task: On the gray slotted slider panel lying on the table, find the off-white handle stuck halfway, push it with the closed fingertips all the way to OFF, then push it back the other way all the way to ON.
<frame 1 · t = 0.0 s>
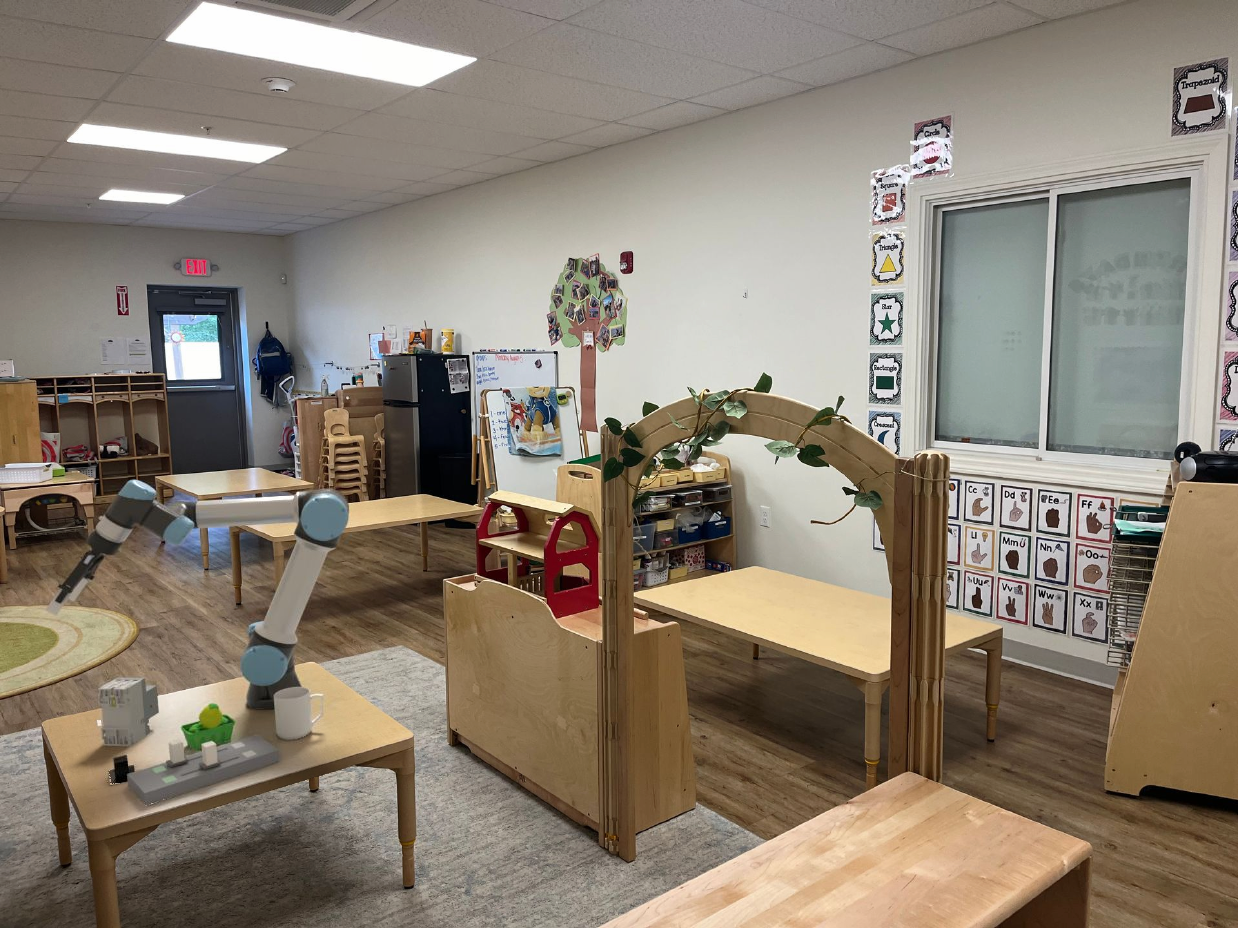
hand: (60, 605, 227), 36 cm above the table, tool tilted 35°, fingers open, 13 cm apart
fruit basket: (210, 744, 228), on the table
mug: (301, 733, 233), on the table
gray slotted slider panel: (206, 773, 211), on the table
black stepped block: (122, 777, 212), on the table
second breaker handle: (176, 751, 209), point 6 cm above the table, slide at 10.0 cm
circuit breaker: (134, 734, 235), on the table
tripped breaker handle: (209, 754, 208), point 6 cm above the table, slide at 5.0 cm
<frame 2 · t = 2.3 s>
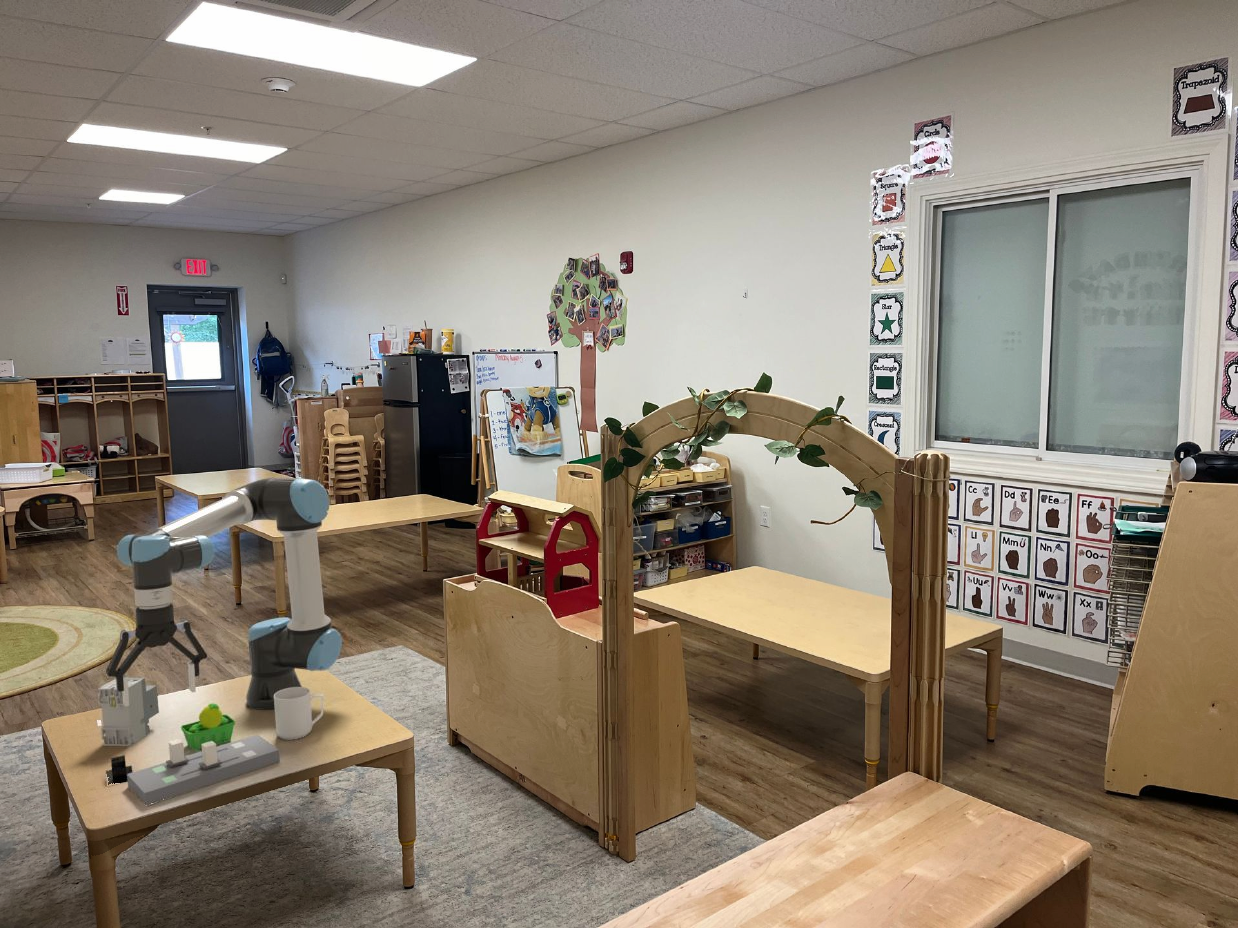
hand: (160, 697, 202), 22 cm above the table, tool pointing down, fingers open, 13 cm apart
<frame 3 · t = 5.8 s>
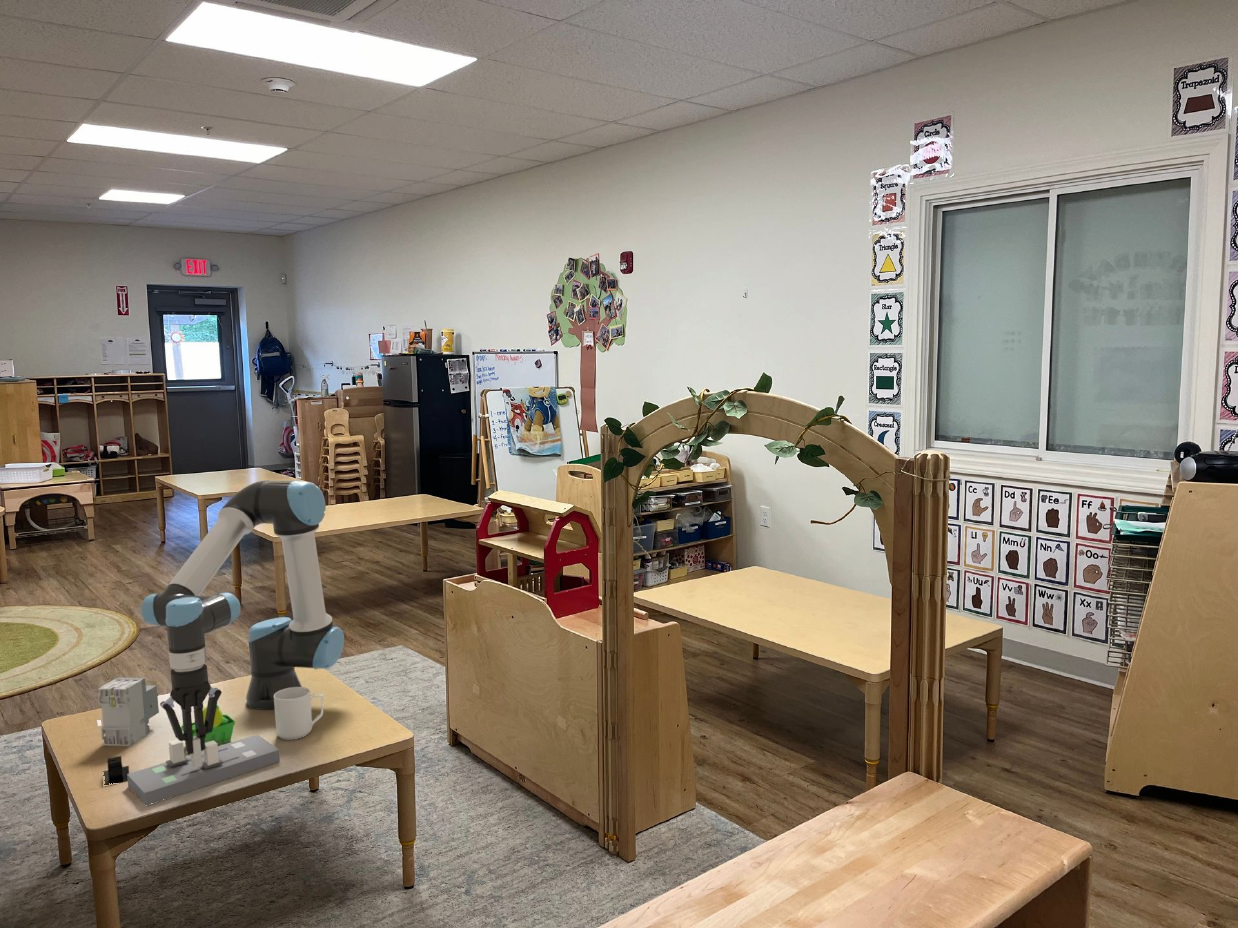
hand: (196, 764, 206), 4 cm above the table, tool pointing down, fingers closed
tripped breaker handle: (210, 753, 208), point 6 cm above the table, slide at 4.7 cm, touching gripper
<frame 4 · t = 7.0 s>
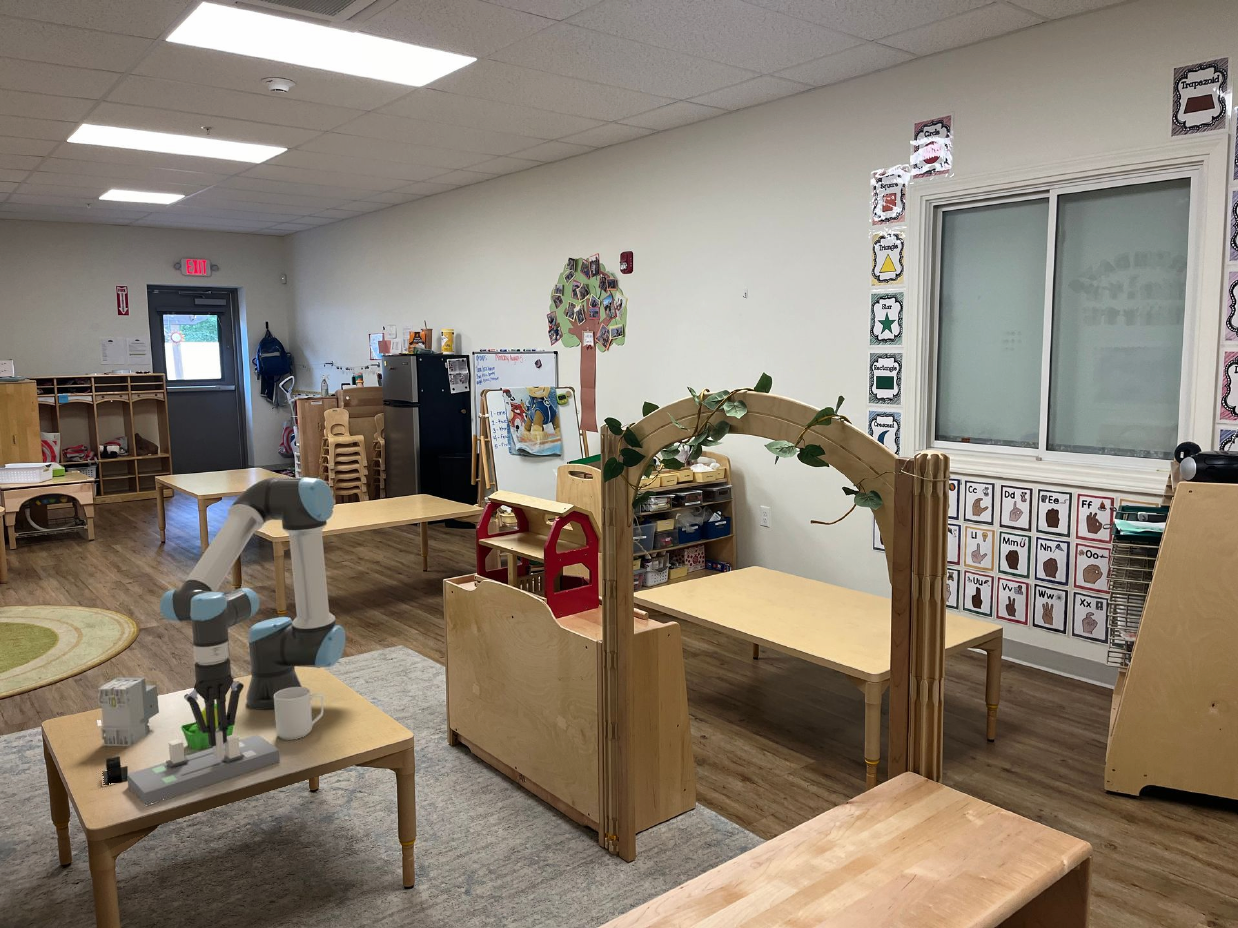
hand: (218, 757, 210), 4 cm above the table, tool pointing down, fingers closed
tripped breaker handle: (232, 747, 211), point 6 cm above the table, slide at -0.2 cm, touching gripper
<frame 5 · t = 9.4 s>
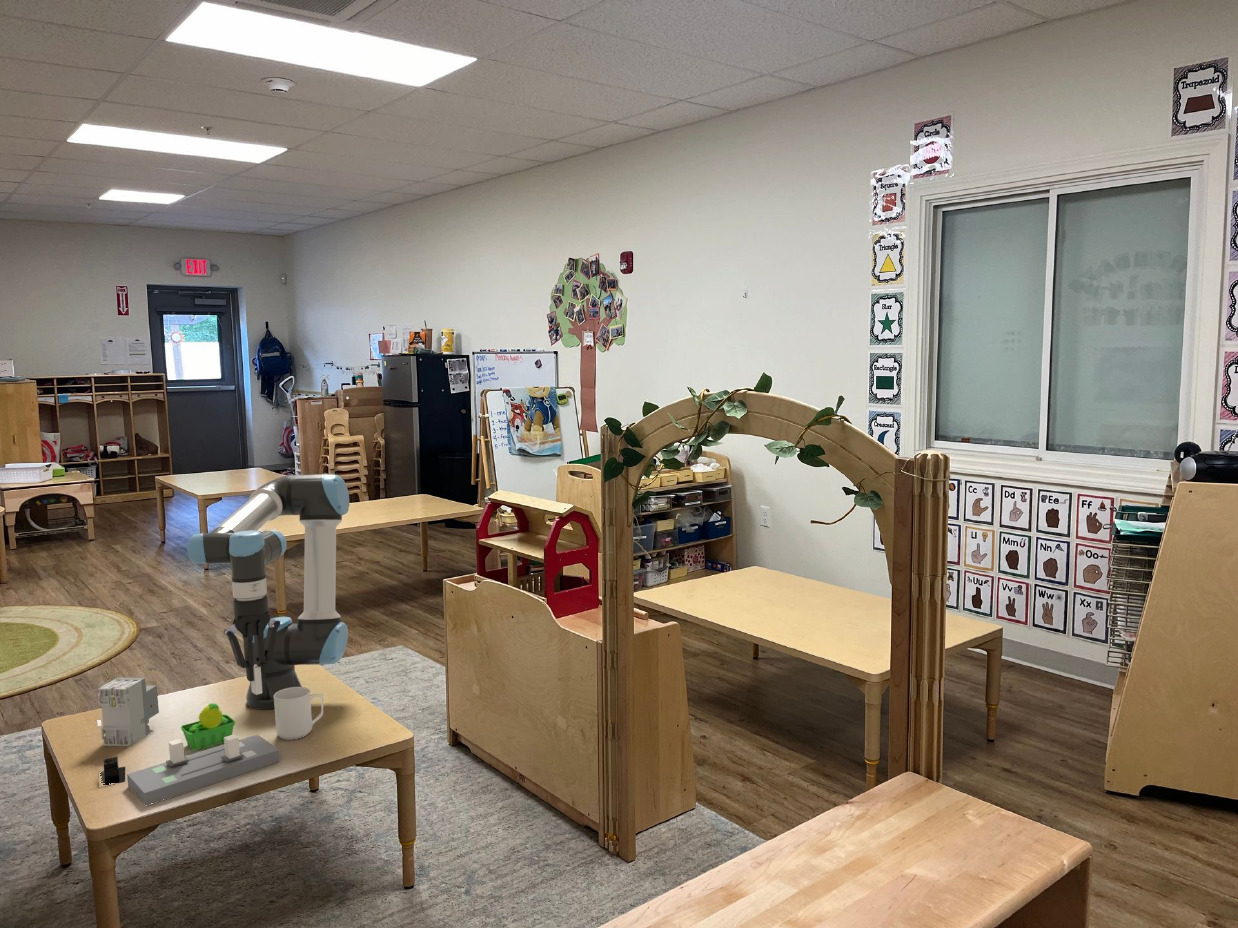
hand: (257, 692, 215), 18 cm above the table, tool pointing down, fingers closed
tripped breaker handle: (231, 747, 211), point 6 cm above the table, slide at -0.1 cm
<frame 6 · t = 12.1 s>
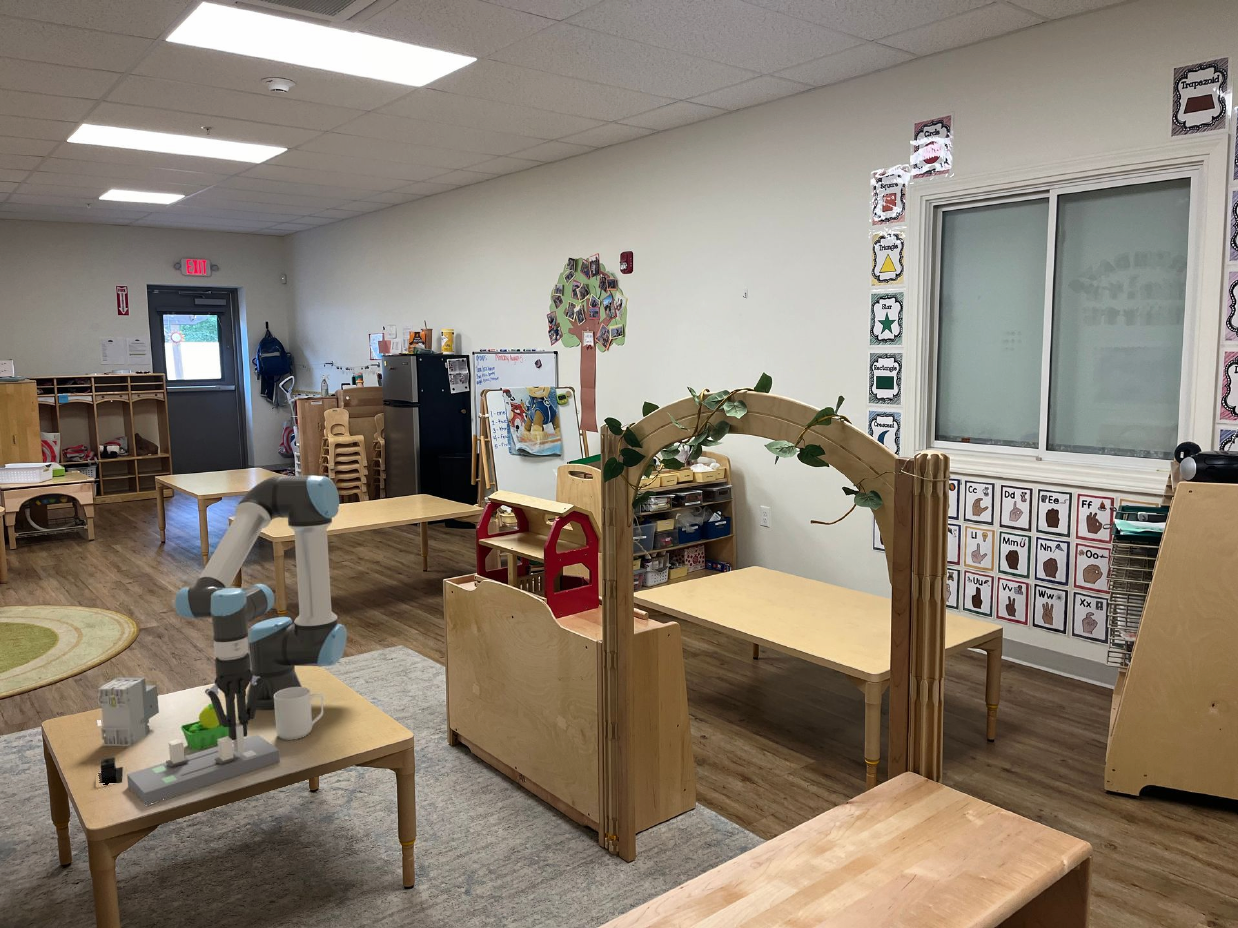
hand: (239, 750, 213), 5 cm above the table, tool pointing down, fingers closed
tripped breaker handle: (225, 749, 210), point 6 cm above the table, slide at 1.4 cm, touching gripper
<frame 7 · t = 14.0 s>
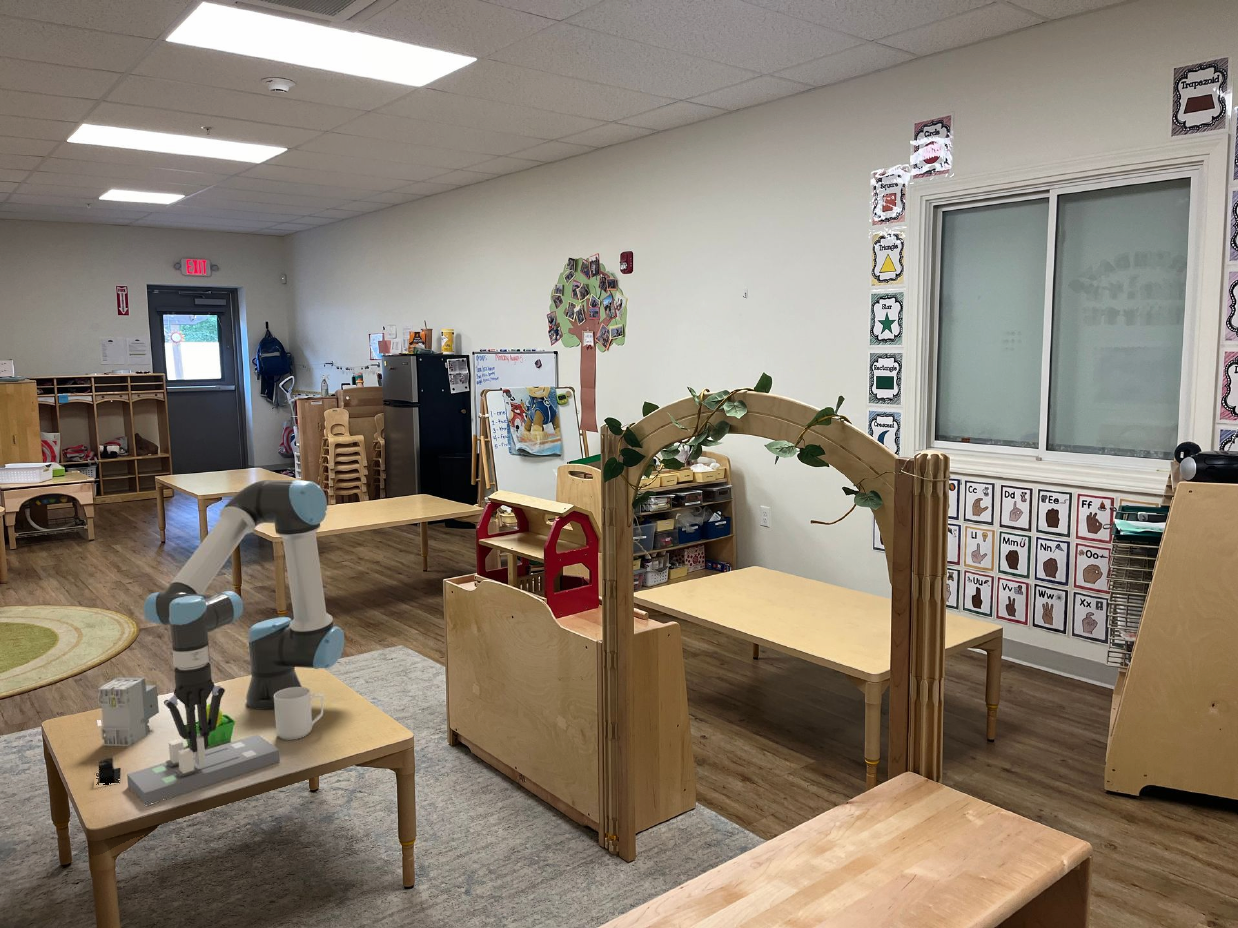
hand: (200, 763, 207), 5 cm above the table, tool pointing down, fingers closed
tripped breaker handle: (186, 761, 204), point 6 cm above the table, slide at 10.2 cm, touching gripper
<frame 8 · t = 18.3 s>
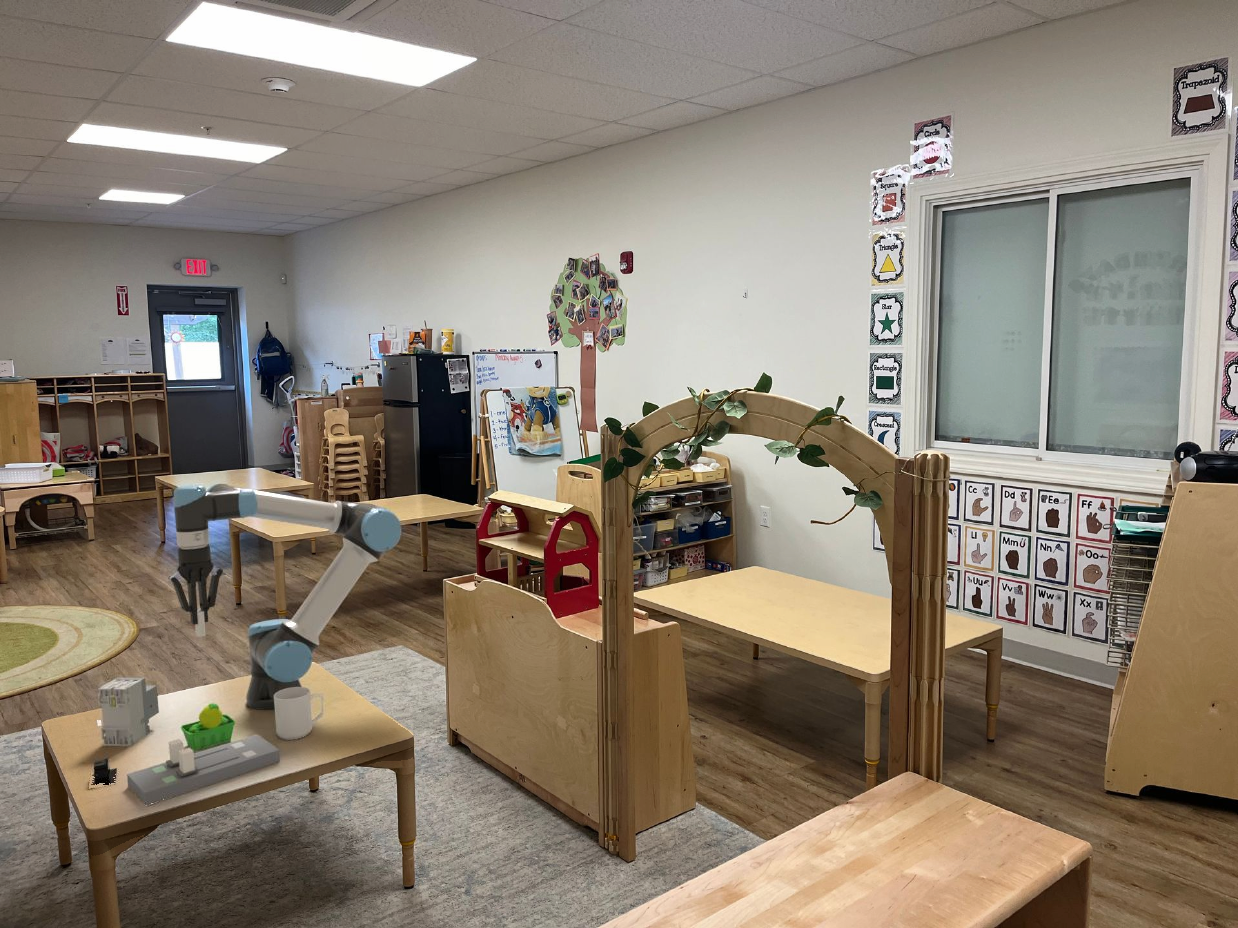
hand: (200, 635, 231), 26 cm above the table, tool pointing down, fingers closed
tripped breaker handle: (186, 761, 204), point 6 cm above the table, slide at 10.1 cm
at the end: tripped breaker handle slide at 10.1 cm; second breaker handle slide at 10.0 cm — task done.
